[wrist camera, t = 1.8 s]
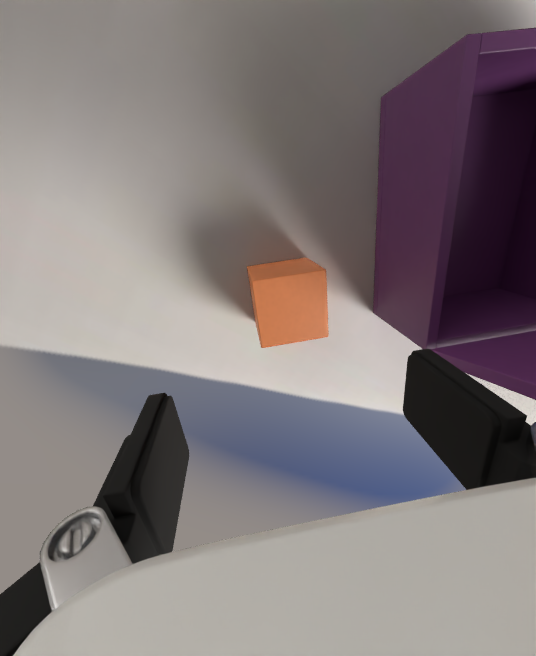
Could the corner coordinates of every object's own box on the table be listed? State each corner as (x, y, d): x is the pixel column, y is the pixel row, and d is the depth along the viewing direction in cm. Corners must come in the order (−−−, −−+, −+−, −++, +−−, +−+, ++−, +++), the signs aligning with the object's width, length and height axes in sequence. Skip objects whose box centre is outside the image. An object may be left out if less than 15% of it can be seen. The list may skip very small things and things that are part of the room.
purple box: (380, 97, 21) (466, 33, 13) (545, 78, 22) (714, 9, 14) (372, 312, 28) (425, 351, 20) (496, 292, 29) (591, 321, 21)
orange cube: (246, 266, 25) (251, 280, 20) (306, 257, 25) (326, 269, 20) (255, 322, 27) (261, 348, 22) (310, 313, 27) (328, 337, 22)
